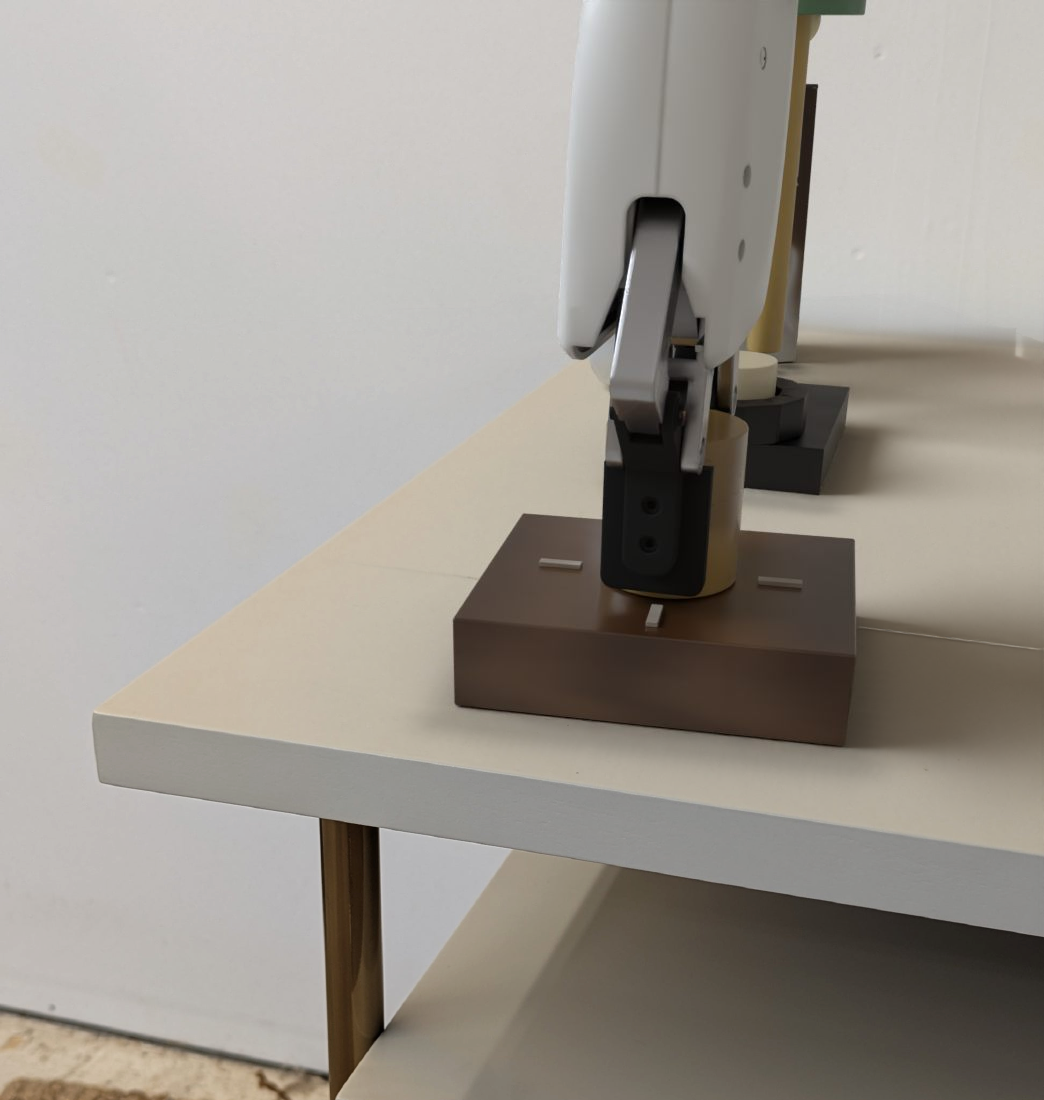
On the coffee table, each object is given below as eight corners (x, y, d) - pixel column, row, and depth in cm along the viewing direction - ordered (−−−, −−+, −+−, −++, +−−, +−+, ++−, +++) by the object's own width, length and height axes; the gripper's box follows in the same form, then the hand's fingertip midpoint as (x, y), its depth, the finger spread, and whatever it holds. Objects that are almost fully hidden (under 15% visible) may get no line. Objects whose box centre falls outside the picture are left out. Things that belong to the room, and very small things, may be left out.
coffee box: (765, 342, 89) (787, 78, 82) (797, 364, 84) (825, 83, 76) (631, 346, 88) (642, 79, 81) (655, 368, 82) (669, 83, 75)
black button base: (678, 413, 73) (682, 339, 71) (845, 428, 71) (853, 352, 69) (622, 481, 62) (625, 396, 60) (817, 501, 60) (826, 413, 58)
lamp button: (704, 384, 64) (707, 347, 63) (779, 390, 63) (783, 353, 62) (689, 402, 61) (692, 364, 60) (768, 409, 60) (772, 370, 59)
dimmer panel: (845, 616, 48) (855, 533, 47) (844, 747, 39) (857, 650, 38) (522, 587, 50) (522, 508, 49) (453, 705, 42) (451, 613, 40)
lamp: (717, 329, 74) (747, -102, 64) (834, 337, 72) (883, -104, 63) (694, 354, 68) (724, -113, 59) (821, 363, 66) (872, -116, 57)
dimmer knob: (612, 545, 46) (617, 392, 44) (740, 555, 45) (753, 400, 43) (591, 592, 42) (596, 428, 40) (731, 605, 41) (745, 437, 39)
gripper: (633, -68, 43) (612, 474, 52) (471, -115, 29) (478, 650, 37) (869, -70, 41) (809, 492, 50) (823, -122, 27) (748, 685, 35)
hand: (668, 554), depth 43 cm, fingers closed on dimmer knob, 4 cm apart
